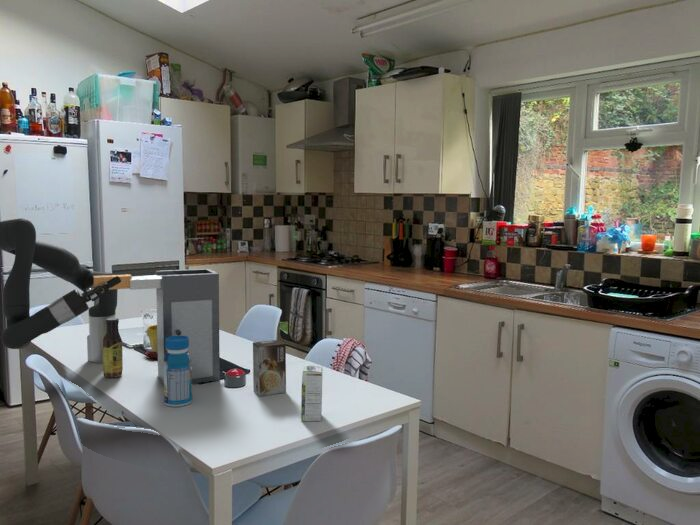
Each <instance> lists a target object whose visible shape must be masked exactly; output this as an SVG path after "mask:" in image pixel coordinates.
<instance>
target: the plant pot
mask: <svg viewBox="0 0 700 525" xmlns="http://www.w3.org/2000/svg"><path fill="white" fill-rule="evenodd" d="M146 336H147V337H148V339H149V344H150V348H151V351H152V350H153V351H157V352H158V344H157V324H154V325H149V326H147V329H146Z"/></svg>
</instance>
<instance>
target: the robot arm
mask: <svg viewBox="0 0 700 525" xmlns="http://www.w3.org/2000/svg"><path fill="white" fill-rule="evenodd" d="M0 250H1V251H3V252H5V253H6V252H7V253H9V254H11V255H14V262H13V265H12V267H11V270H10V272H9V274H8V276H7V279H6V281H5V283H4V285H3V290H2V312H3V316H4V317H5V320H6V322H5V323H6V328H5V329H4V330H3V332H2V333H1V336H0V340H1V343H2V345H3V346H4V347H6V348H7V349H11V350H21V349H22V350H23V349H25V348H27V347H28V346H29V345H30V344H31V342H32V341H33V340H35V339H36V338H39V337H40V336H42V335H44V334H47V333H49V332H51V331H53V330H55V329H57V328H58V327H60V326H61V325H64V324H66V323H68V322H69V321H72V320H73V319H75V318H77V317H79V316H81V314H83V313H85V312H87V311H88V329H89V330H88V332H89V335H86V342H87V343H86V346H87V347H86V349H87V351H86V352H87V361H88V362H91V363H96V364H97V363H98V364H103V338H104V336H105V335H106V333H107V331H106V330H107V324H106V319H108V318H117V317H116V316H117V314H116V309H117V306H118V290H119V289H111V288H112V287H113V286H115V285H117V284H118V283H120V282H121V279H120V278H119V276H116V277H114V278H112V279H111V280H109V281H107V282H108V283H107V282H105V283H103V284H102V285H97V286H95V287H94V278H93V276H103V275H118V274H117V273H115V274H114V273H112V272H106V271H94V270H90V269H87V268H86V267H83V266H82V265H81V264H80V260H79V259H78V257H77V256H76V255H75V254H74V253H72V252H71V251H69V250H67V249H66V248H64V247H62V246H60V245H58V244H53V243H51V242H46V241H45V242H44V241H41V240H37V230H36V228H35V225H34V224H33V222H32V221H31V220H29V219H28V218H22V217H21V218H12V219H7V220H2V221H0ZM33 265H35V266H36V267H39V268H41V269H43V270H44V271H46V272H48V273H50V274H52V275H53V276H56V277H57V278H60V279H62V280H64V281H66V282H68V283H70V284H71V285H73V286H75V287H76V288H78V289H79V290H81V291H82V293H81V292H79V290H78V289H76V288H75V289H73V290H71V291H70V292H67V293H66V294H63V295H62V296H60V297H59V298H58V299H57V298H56V299H55V300H54V301H52V302H51V303H50V304H48V305H46V306H45V307H44V308H41V309H40V310H38V311H37V312H35V313H34V314H32V315H30V310H31V309H30V308H31V307H30V304H31V302H30V299H31V298H30V284H31V283H30V282H31V274H32V268H33ZM110 287H111V288H110ZM95 288H97V289H95ZM102 288H103V289H104V290H103V289H102ZM96 300H98V302H97V304H95V305H92V306H90V307H89V304H87V303H89V302H95V301H96Z"/></svg>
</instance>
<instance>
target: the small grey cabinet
mask: <svg viewBox="0 0 700 525" xmlns="http://www.w3.org/2000/svg"><path fill="white" fill-rule="evenodd" d="M173 274H177V275H173ZM155 275H161V277H162V288H155V289H156V290H155V291H156V292H155V293H156V325H157V344H158V353H157V376H158V378H159V380H160V381H161V383H162V385H163V386H164V373H163V367H164V362H163V359H164V356H165V354H166V353H167V351H168V350H166V345H165V340H166V338H167V337H170V336H178V335H181V336H187V337H188V338H189V348H188V349H187V350H188V352H189V353H190V355H191V358H192V361H191V365H192V385H194V384H202V383H201V382H204V383H210V382H209V381H212V382H218V381H219V380H221V379H220V378H221V376H220V372H221V371H220V370H221V369H220V366H221V365H220V364H221V362H220V360H221V358H220V354H221V353H220V274H219V272H216V271H215V270H212V269H211V268H194V269H189V268H188V269H169V270H167V269H165V270H156V271H155Z"/></svg>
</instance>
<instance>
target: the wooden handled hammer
mask: <svg viewBox="0 0 700 525" xmlns="http://www.w3.org/2000/svg"><path fill="white" fill-rule="evenodd" d="M173 275H177V274H173ZM116 276H119V278H120V279H121V282H120V283H118V284H117V285H115V286H113V287H112V288H111V287H110V288H111V289H118V290H125V289H127V290H128V289H129V290H130V291H131V290H132V291H133V290H148V289H149V290H151V289H152V290H153V289H156V288H162V277H161V275H156V274H153V275H151V274H150V275H134V276H133V275H132V274H129V273H128V274H127V273H126V274H117V275H115V274H114V275H103V276H93V278H94V287H95V286H97V285H102V284H103V283H105V282H107V281H109V280H111V279H112V278H114V277H116ZM107 283H108V282H107ZM95 289H97V288H95ZM102 289H103V288H102ZM103 290H104V289H103Z"/></svg>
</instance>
